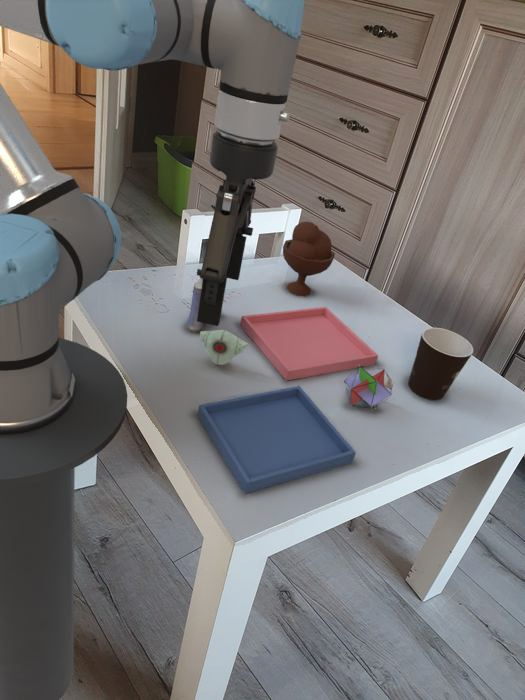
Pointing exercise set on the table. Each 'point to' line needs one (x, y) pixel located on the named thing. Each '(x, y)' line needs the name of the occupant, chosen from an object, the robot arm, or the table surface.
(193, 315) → the flask
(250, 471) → the blue tray
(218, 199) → the robot arm
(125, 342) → the table surface
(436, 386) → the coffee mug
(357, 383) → the wire icosahedron model
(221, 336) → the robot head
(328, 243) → the ice cream bowl
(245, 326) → the rose tray
